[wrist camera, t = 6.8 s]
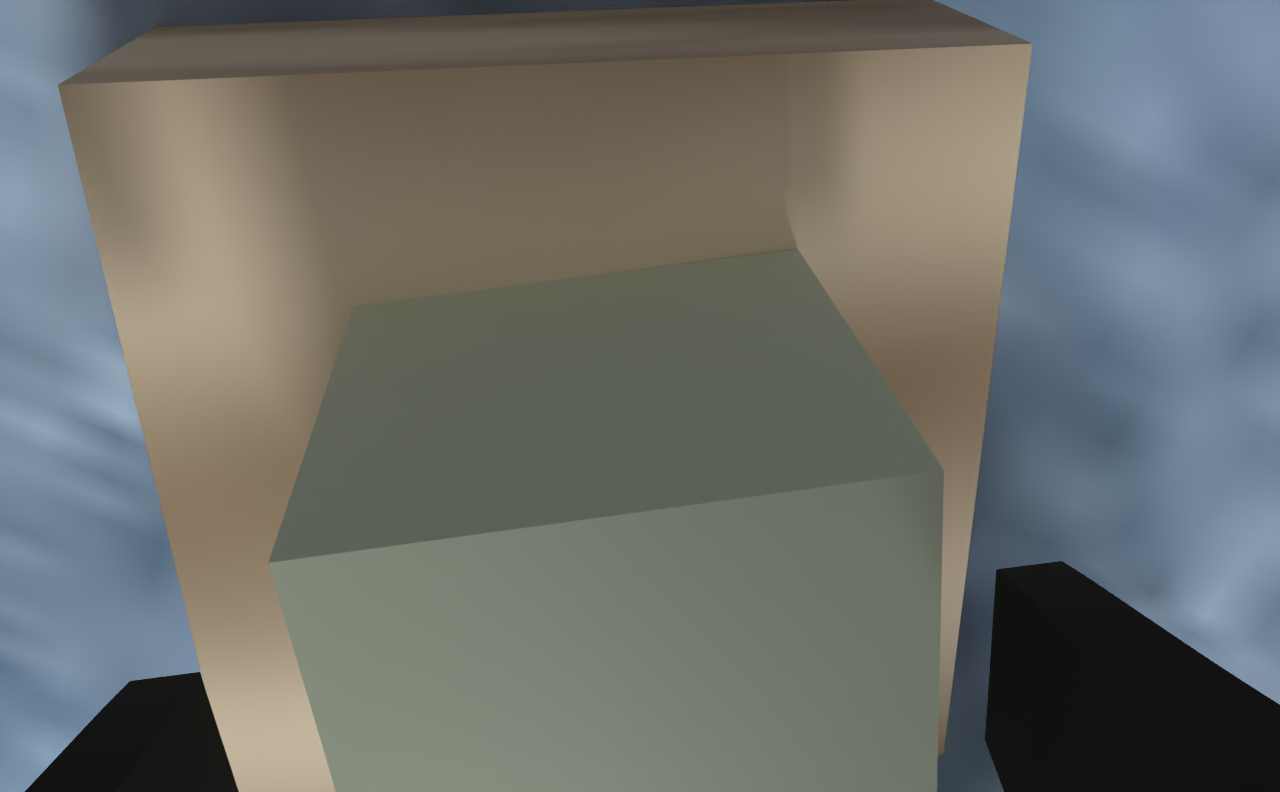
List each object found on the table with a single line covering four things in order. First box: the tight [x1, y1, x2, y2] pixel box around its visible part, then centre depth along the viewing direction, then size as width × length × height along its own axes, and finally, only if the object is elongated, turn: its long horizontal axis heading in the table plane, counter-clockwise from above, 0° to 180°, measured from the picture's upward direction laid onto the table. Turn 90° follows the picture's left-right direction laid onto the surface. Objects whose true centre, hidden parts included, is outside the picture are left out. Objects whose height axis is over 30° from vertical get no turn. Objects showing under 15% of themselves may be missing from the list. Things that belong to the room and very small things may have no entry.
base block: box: [58, 0, 1032, 792], centre depth 16 cm, size 10×10×4 cm
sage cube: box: [268, 249, 944, 792], centre depth 12 cm, size 5×5×5 cm
